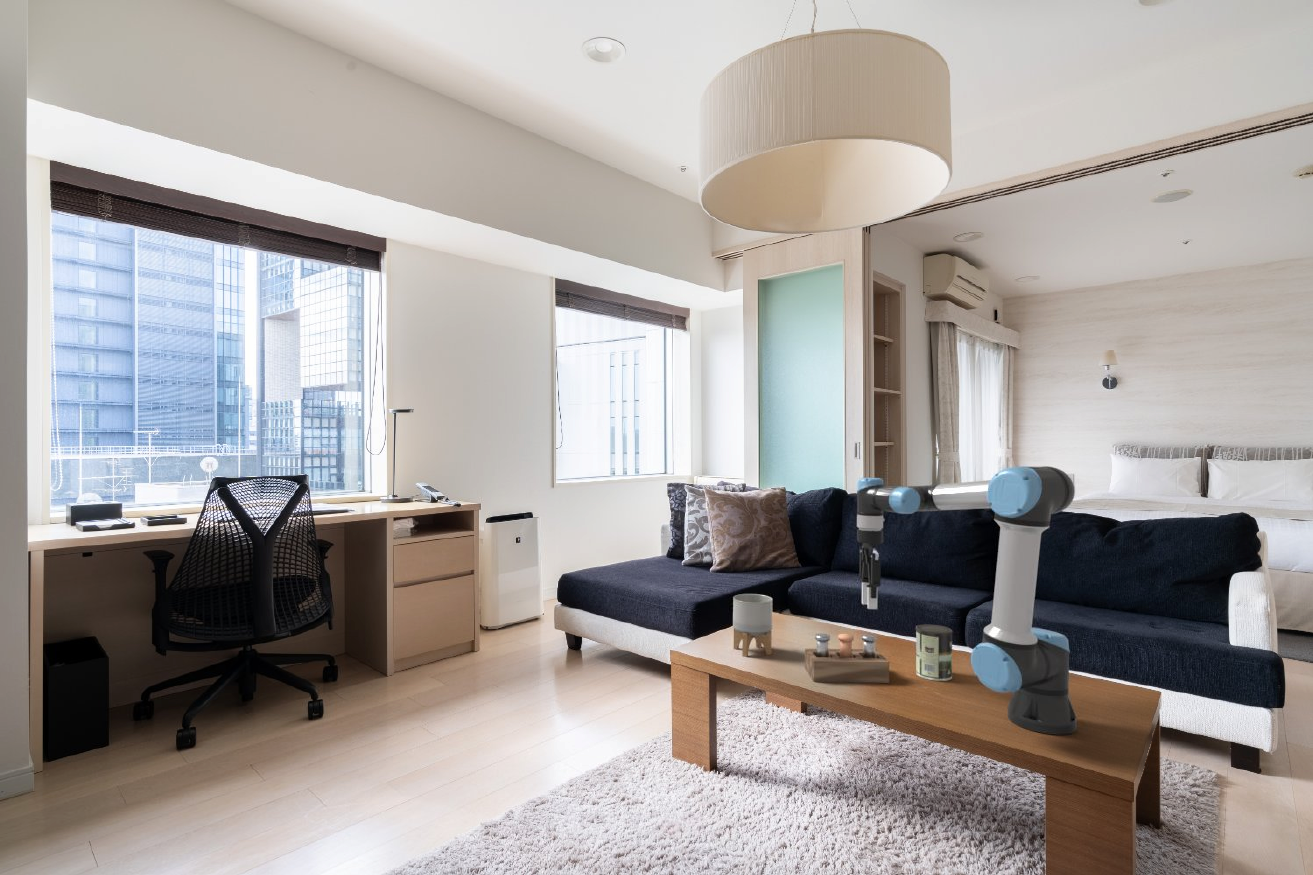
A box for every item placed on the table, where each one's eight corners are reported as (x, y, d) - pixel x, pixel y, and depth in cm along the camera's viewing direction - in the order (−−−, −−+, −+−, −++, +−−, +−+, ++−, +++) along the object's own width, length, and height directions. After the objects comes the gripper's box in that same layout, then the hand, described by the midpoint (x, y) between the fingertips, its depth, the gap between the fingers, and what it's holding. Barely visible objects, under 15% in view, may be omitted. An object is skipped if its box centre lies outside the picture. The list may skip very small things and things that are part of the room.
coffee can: (947, 670, 206) (948, 625, 207) (955, 682, 196) (956, 634, 196) (912, 668, 208) (913, 622, 209) (918, 679, 198) (919, 632, 198)
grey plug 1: (831, 662, 200) (831, 637, 200) (816, 662, 200) (817, 637, 200) (827, 657, 204) (828, 633, 204) (813, 657, 204) (813, 633, 204)
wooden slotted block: (889, 682, 196) (889, 661, 196) (813, 681, 196) (813, 661, 196) (875, 668, 208) (875, 649, 208) (804, 667, 208) (804, 648, 208)
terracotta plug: (855, 662, 199) (855, 638, 200) (840, 662, 200) (840, 637, 200) (850, 657, 204) (851, 633, 204) (836, 657, 204) (836, 633, 204)
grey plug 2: (878, 662, 199) (878, 638, 200) (863, 662, 199) (864, 638, 200) (873, 658, 204) (874, 634, 204) (859, 657, 204) (859, 633, 204)
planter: (742, 643, 233) (742, 592, 233) (777, 649, 226) (778, 596, 226) (726, 653, 221) (726, 599, 222) (763, 660, 215) (763, 604, 215)
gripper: (892, 533, 193) (892, 614, 193) (872, 525, 211) (872, 599, 211) (866, 532, 193) (866, 613, 193) (849, 525, 211) (848, 599, 211)
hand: (869, 606), depth 202 cm, fingers open, 5 cm apart
